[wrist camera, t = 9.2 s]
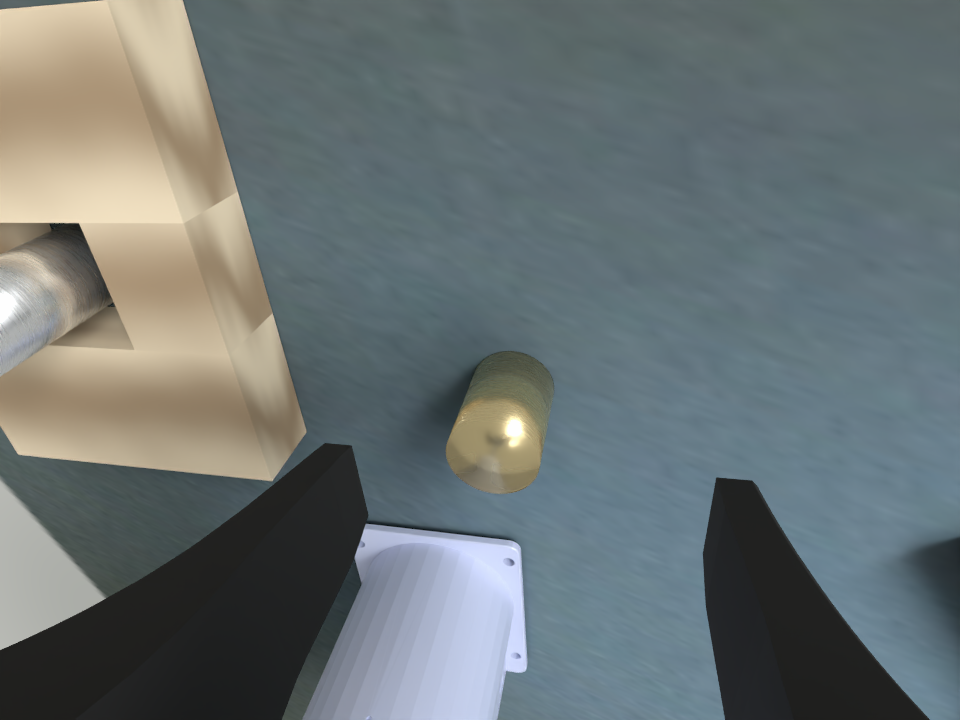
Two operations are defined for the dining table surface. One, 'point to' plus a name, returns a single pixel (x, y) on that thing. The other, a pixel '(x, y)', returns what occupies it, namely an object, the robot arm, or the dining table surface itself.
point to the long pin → (46, 292)
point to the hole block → (137, 250)
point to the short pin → (502, 424)
